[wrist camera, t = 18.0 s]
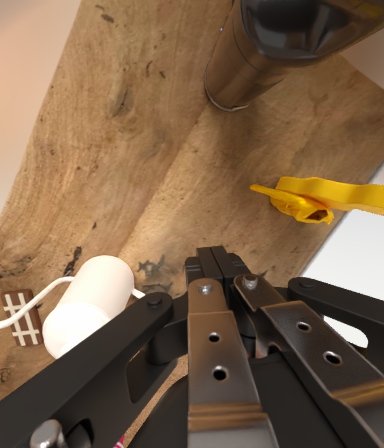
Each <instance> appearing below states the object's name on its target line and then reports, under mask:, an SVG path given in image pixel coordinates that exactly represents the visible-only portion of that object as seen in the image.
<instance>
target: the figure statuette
mask: <svg viewBox="0 0 384 448" xmlns="http://www.w3.org/2000/svg"><path fill="white" fill-rule="evenodd" d="M250 190H254V191H257V192H260V193H263V194H266V195H269V196H270V202H271V204H273V205H274V206H275V207H276V208H277V209H278V210H280V211H281V212H282V213H285V214H287V215H291V216H294V217H295V219H296V220H297V221H299V222H301V221H302V222H306V223H311V222H314V223H317V224H318V223H320V222H322V221H323V222H325V223H326V224H327V225H329V224H330V223H331V221H332V220H333V218H334V216H333V213H332V212H331V210H330V209H329V208H328V207H331V208H335V209H339V210H344V211H350V210H352V209H359V210H363V211H367V212H371V213H375V214H379V215H383V216H384V185H377V184H366V185H352V184H345V183H338V182H334V181H330V180H325V179H321V178H317V177H311V178H306V179H300V178H294V177H281V178H280V179H279V181H278V183H277V185H276V187H275V189H271V188H267V187H263V186H260V185H256V184H253V185H251V187H250Z"/></svg>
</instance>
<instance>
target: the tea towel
mask: <svg viewBox="0 0 384 448" xmlns="http://www.w3.org/2000/svg"><path fill="white" fill-rule="evenodd" d="M0 296H1V299H2V302H3V305H4V310H5V311H6V314H7V317H8V318H10V317H12V316H13V315H15V314H16V313H17V312H18V311H19V310H21V309H22V308H23V307H24V306H25V305H26V304H28V303H29V302H30V301H31V300H32V299H33V295H32V291H31V289H28V290H18V291H8V292H4V293H2V294H1V295H0ZM10 326H11V329H12V332H13V333H12V334H13V336H14V338H15V341H16V344H17V346H25V345H29V344H38V343H43V341H44V338H43V332H42V331H43V329H42V326H41V322H40V319H39V315H38V312H37V308H36V305H34V306H33V307H32V308H31V309H30V310H29V311H28V312H27V313H25V314H24V315H23V316H22V317H21V318H20V319H19V320H17V321H16V322H15V323H13V324H11V325H10Z"/></svg>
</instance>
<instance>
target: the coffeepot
mask: <svg viewBox="0 0 384 448" xmlns="http://www.w3.org/2000/svg"><path fill="white" fill-rule="evenodd" d="M67 281H71V284H70V285H69V287H68V289H67V290H66V292H65V293H64V295H63V297H62V298H61V300H60V301H59V303H58V305H57V306H56V308H55V309H54V310H53V311H52V312H51V313H50V314H49V316H48V317H47V318H46V320H45V322H44V325H43V331H42V332H43V338H44V343H45V346H46V348H47V350H48V352H49V353H50V354H51V355H52V356H53V357H55V358H56V359H58V358H60V357H61V356H62V355H64V354H65V353H66V352H68V351H69V350H70V349H72V348H73V347H75V346H76V345H77V344H79V343H80V342H81V341H83V340H84V339H85V338H87V337H88V336H90V335H91V334H92V333H94V332H95V331H96V330H98V329H99V328H100V327H102V326H103V325H105V324H106V323H107V322H109V321H110V320H111V319H113V318H114V317H115V316H117V315H118V314H120V313H121V312H122V311H124V309H125V306H126V304H127V302H128V299H129V297H130V295H131V293H132V294H133V295H135V296H136V297H137V298H139V299H140V298H141V297H143V296H145V294H144V293H142V292H140V291H138V290H136V289H134V287H135V285H134V275H133V273H132V270H131V269H130V267H129V266H128V265H127V264H126V263H125V262H124V261H122V260H121V259H119V258H116V257H113V256H107V255H103V256H97V257H94V258H91V259H90V260H88V261H87V262H85V263H84V264H83V265H82V267H81V268H80V269H79V271H78V273H77V274H76V276H75V277H62V278H59V279H57V280H55V281H54V282H52V283H51V284H50V285H49V286H47V287H46V288H45V289H44V290H43V291H42V292H40V293H39V294H38V295H37V296H36V297H35V298H33V299H32V300H31V301H30V302H29V303H28V304H26V305H25V306H24V307H23V308H22V309H21V310H19V311H18V312H17V313H16V314H15V315H13V316H12V317H10V318H8V319H6V320H4V321H0V329H1V328H4V327H7V326H9V325H11V324H13V323H15V322H16V321H17V320H19V319H20V318H21V317H22V316H23V315H24V314H25V313H27V312H28V311H29V310H30V309H31V308H32V307H33V306H34V305H35V304H36V303H38V302H39V301H40V300H41V299H42V298H43V297H44V296H45V295H46V294H47V293H49V292H50V291H51V290H52V289H53V288H54V287H55V286H56V285H58V284H60V283H62V282H67Z"/></svg>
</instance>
